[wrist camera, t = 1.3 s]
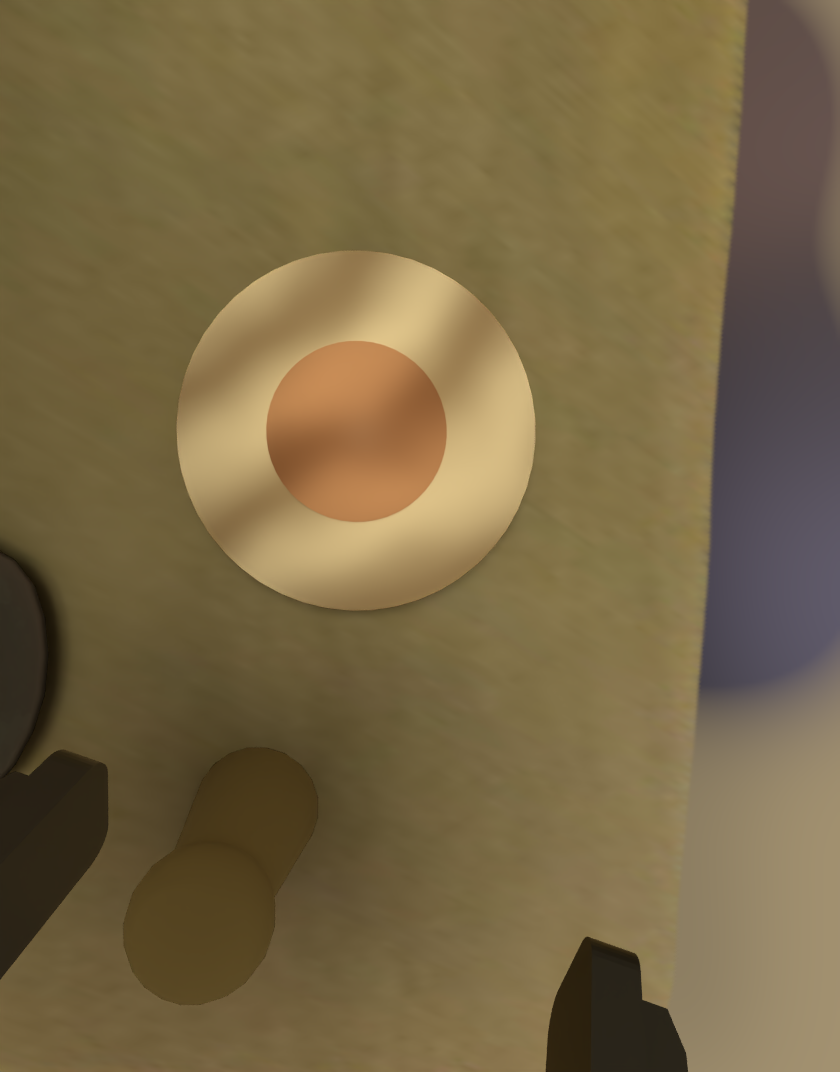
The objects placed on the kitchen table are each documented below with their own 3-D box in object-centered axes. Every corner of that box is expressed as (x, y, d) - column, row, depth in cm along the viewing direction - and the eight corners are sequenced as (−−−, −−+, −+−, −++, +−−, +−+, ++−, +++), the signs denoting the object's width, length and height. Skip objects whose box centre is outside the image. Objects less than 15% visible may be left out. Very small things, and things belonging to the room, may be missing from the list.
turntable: (125, 425, 33) (99, 418, 30) (372, 200, 33) (368, 171, 30) (349, 669, 34) (344, 684, 31) (592, 450, 33) (609, 445, 31)
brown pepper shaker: (344, 807, 34) (314, 951, 23) (257, 892, 34) (186, 1076, 23) (257, 721, 34) (185, 825, 23) (170, 807, 34) (56, 952, 23)
